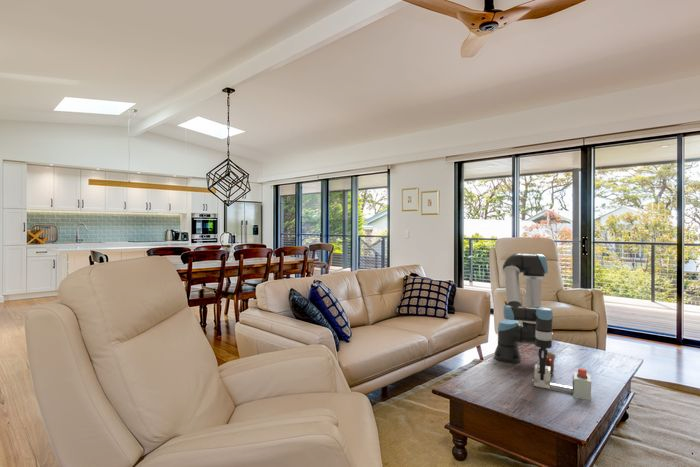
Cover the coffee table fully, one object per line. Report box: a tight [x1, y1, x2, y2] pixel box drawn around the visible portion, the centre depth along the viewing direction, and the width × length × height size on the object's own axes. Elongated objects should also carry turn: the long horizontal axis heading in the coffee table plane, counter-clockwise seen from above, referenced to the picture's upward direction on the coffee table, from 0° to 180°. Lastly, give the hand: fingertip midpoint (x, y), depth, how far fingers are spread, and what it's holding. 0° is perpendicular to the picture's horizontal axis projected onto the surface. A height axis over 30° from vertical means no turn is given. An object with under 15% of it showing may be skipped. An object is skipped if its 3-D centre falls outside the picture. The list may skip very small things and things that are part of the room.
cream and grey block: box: [533, 363, 551, 390], centre depth 197 cm, size 7×7×9 cm
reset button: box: [577, 368, 588, 377], centre depth 188 cm, size 4×4×3 cm
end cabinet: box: [572, 371, 592, 401], centre depth 189 cm, size 7×10×9 cm
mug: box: [537, 352, 556, 376], centre depth 214 cm, size 12×9×10 cm
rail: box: [530, 378, 573, 395], centre depth 195 cm, size 20×2×2 cm, turn 62°
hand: (542, 382), depth 197 cm, fingers closed on cream and grey block, 7 cm apart
